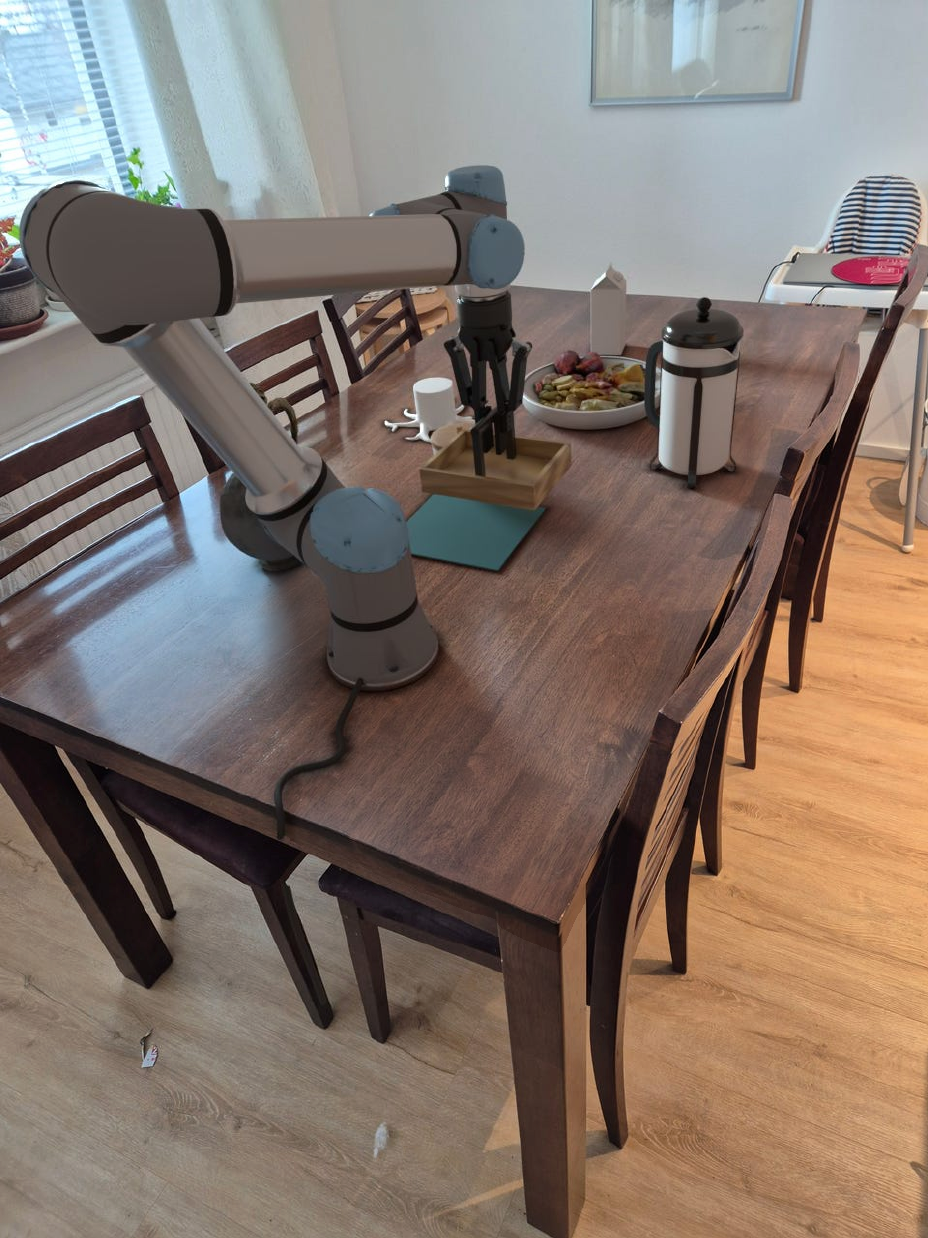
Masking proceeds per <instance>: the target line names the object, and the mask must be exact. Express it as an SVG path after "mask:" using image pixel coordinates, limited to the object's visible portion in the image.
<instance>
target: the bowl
mask: <svg viewBox="0 0 928 1238" xmlns="http://www.w3.org/2000/svg"><path fill="white" fill-rule="evenodd" d="M645 365H646V361H644V360H640V359H636V358H633V357H632V358H631V357H625V356H618V355H598V353H595V352H591V351H589V352H587V353H585V355H583V356H580V355H579V354H578V353H577V352H576V351H574V350H570V349H568V350H564V351H562V352H560V353H559V354H557V356H556V357H555V360H554V362H550V363H548V364H547V363H546V364H545V365H542V366H540V367H538V368H536V369H534V370H532V371H531V372H529V373H528V374H527V375H525V383H524V393H523V402H522V405H523V406H524V408H525V409H526V410H527V412H528V413H529V414H531V415H532V416H533V417H535V418H536V419H538V420H539V421H541V422H544V423H546V424H547V425H548V424H549V425H551V426H555V427H559V428H563V429H570V430H589V431H590V430H604V429H611V428H618V427H622V426H626V425H629V424H632V423H635V422H637V421H641V420H642V419H644V418H646V417H647V414H646V411H645V404H644V389H645ZM660 377H661V368H660V367H658V366H656V382H655V409H656V410H657V409H659V399H660ZM661 385H662V378H661ZM660 405H661V400H660Z"/></svg>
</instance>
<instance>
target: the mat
mask: <svg viewBox="0 0 928 1238" xmlns="http://www.w3.org/2000/svg"><path fill="white" fill-rule="evenodd" d="M546 508H547V507H543V506H538V507H537V508H536V509H535V511H534V510H528V509H521V508H515V507H509V506H503V505H497V504H491V503H485V502H479V501H473V500H467V499H461V498H455V497H448V496H442V495H436V494H432V495H431V496H430V498H429V499H428V500H427V501H426V502H425V503H423V504H422V505H421V507H420V508H418V510H417V511H416V512H415V513H414V514H412V516H410V518H409V519H408V520H407V521H406V523H407V526H408V529H409V536H410V541H409V543H410V550H411V556H415V557H420V558H426V559H430V560H436V561H441V562H447V563H451V564H457V565H462V566H467V567H471V568H477V569H483V570H488V571H494V572H499V571H500V569H501V568H502V567H503V565H504V564H505V563H506V562H507V561H508V559H509V557H510V556H511V555H512V554H513V553H514V551H515V549H517V548H518V547H519V544H520V543H521V542H522V541H523V540H524V538H525V537H526V536H527V534H528V533H529V532H530V530H531V529H532V528H533V526H534V525H535V524H536V523H537V521H538V520H539V519H540V517H541V516H542V514H544V512H545V511H546V510H547V509H546Z"/></svg>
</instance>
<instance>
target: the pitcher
mask: <svg viewBox="0 0 928 1238" xmlns="http://www.w3.org/2000/svg"><path fill="white" fill-rule="evenodd" d="M249 383H250V385H251V386H252V387H253V389H254V390H255V391H256V392H257V394H258V395H259V396H260V398H261V399H262V400H263V401H264V403H265V404H266V405H267V407H268V408H269V409H270V410H271V412H272V413H273V414H274V412H275V411H276V410H278V409H280V408H281V409H283V410H284V412H285V413H286V415H287V417H288V420H289V432H290V436H291V438H292V439H293V440H294V441H295V443H296V444H297V445H298V442H299V441H298V434H299V426H298V420H297V419H298V418H297V416H296V411H295V410H294V408H293V406H292V405H291V403H289V401H288V400H287V399H286V398H285V397H282V396H281V397H280V396H279V397H275V398H273V399H272V400H269V401H268V397H267V396H266V395H265V391H264V390H263V389H260V388H261V387H262V386H263V385H262V384H261V383H258V384H255V382H254V383H253V382H249ZM246 490H247V488H246V486H245V485H244V484H243V483H242V482H241V481H240V480H239V479H238V477H237V476H236V475H235V474H234V473H233V472H232V473H231V474H230V476H229V477H228V479H227V481H226V482H225V484H224V486H223V487H222V490H221V492H220V496H219V518H220V524H221V528H222V530H223V533H224V535H225V537H226V538H227V540H228V541H229V542H230V544H232V545H233V546H234V548H236V549H237V550H238V551H239V552H241V553H243V554H244V555H246V556H248V557H250V558H253V559H256V560H258V563H259V565H260V567H261V568H262V569H263V570H266V571H269V572H281V571H286V570H289V569H292V568H294V567H296V566H297V565H298V564H299V563H302V562H301V561H300V560H299V559H297V558H296V557H295V556H294V555H293V554H291V553H290V552H289V551H288V550H287V549H285V548H284V547H283V546H281V545H279V544H278V543H277V542H275V541H274V540H273V539H272V538H271V537H270V536H269V535H268V534H267V533H266V531H265V530H264V528H263V526H262V525H261V523H260V521H259V519H258V517H257V516H256V515H255V514H254V513H253V512H252V511H251V510H250V509H249V507H248V506H247V504H246V498H245V496H246Z"/></svg>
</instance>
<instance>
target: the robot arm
mask: <svg viewBox="0 0 928 1238" xmlns="http://www.w3.org/2000/svg"><path fill="white" fill-rule="evenodd" d="M504 179H505V178H504V175H503V173H502V170H501V169H499V168H498V167H496V166H493V165H487V164H485V165H484V164H483V165H482V164H479V165H467V166H462V167H457V168H454V169H453V170H450V171H448V172H447V173H446V175H445V186H444V190H445V191H443V192H440V193H437V194H433V195H430V196H425V197H422V198H417V199H412V200H409V201H404V202H400V203H391V204H390V205H387V206H385V207H382V208H379V209H376V210H374V211H372V212H371V213H370V215H357V216H356V215H355V216H321V217H320V216H319V217H318V216H317V217H316V216H315V217H286V218H254V219H253V218H249V219H247V218H246V219H245V218H244V219H224V218H223V217H222V216H221V215H220V214H219V213H218V212H217V211H215V210H214V209H212V208H185V207H175V206H168V205H162V204H158V203H157V204H156V203H153V202H149V201H145V200H142V199H138V198H135V197H132V196H129V195H127V194H123V193H119V192H115V191H113V190H109V189H107V188H106V187H104V186H103V185H100V184H97V183H94V182H91V181H87V180H81V179H72V180H67V181H66V180H65V181H60V182H55V183H52V184H49V185H47V186H45V187H44V188H42V189H40V190H39V191H38V192H37V193H35V195H33V196H32V197H31V199H30V200H29V201H28V203H27V205H26V206H25V208H24V209H23V212H22V215H21V218H20V221H19V222H20V223H19V228H18V229H19V230H18V234H19V235H18V236H19V237H18V238H19V246H20V249H21V253H22V256H23V259H24V261H25V263H26V265H27V267H28V269H29V271H30V272H31V275H33V277H34V278H35V279H36V280H37V281H38V283H39V284H40V285H42V286H43V287H44V288H45V289H47V290H49V291H50V292H51V293H54V294H55V295H56V296H57V297H58V298H59V299H60V300H61V302H63V304H64V305H65V306H66V307H67V308H68V309H69V310H70V311H71V312H72V313H73V314H74V316H76V318H77V319H78V320H79V321H80V322H81V323H82V324H83V325H84V327H85V328H86V329H87V330H88V331H89V332H90V333H91V334H92V335H93V337H95V339H96V340H97V341H98V342H99V343H100V345H103V346H106V347H116V348H122V349H124V350H125V351H126V353H127V354H128V355H129V356H130V357H131V358H132V360H133V361H134V362H135V363H136V364H137V365H138V366H139V368H140V369H141V370H142V371H143V372H144V373H145V374H146V375H147V376H148V377H149V379H150V380H152V382H153V383H154V384H155V386H157V388H158V390H160V392H162V394H163V395H164V396H165V397H166V398H167V399H168V401H169V402H170V403H171V404H172V405H173V406H174V407H175V408H176V409H177V411H178V412H179V413H180V414H181V415H182V416H183V417H184V419H185V420H186V421H187V422H188V423H189V424H190V425H191V427H192V428H193V429H194V430H195V431H196V432H197V433H198V435H200V436H201V437H202V439H203V440H204V441H205V442H206V444H207V445H208V446H209V447H210V448H211V450H213V451H214V453H215V454H216V455H217V456H218V457H219V458H220V460H221V461H223V463H224V464H225V465H226V466H227V468H228V469H229V470H230V471H231V472H232V473H234V474H235V475H236V476H237V477H238V479H239V480H240V481H241V482H242V483H243V484H244V485H245V486H246V488H247V490H246V496H245V498H246V504H247V506H248V507H249V509H250V510H251V511H252V512H253V513H254V514H255V515H256V516H257V517H258V519H259V521H260V523H261V525H262V526H263V528H264V530H265V531H266V533H267V534H268V535H269V536H270V537H271V538H272V539H273V540H274V541H275V542H277V543H278V544H279V545H281V546H283V547H284V548H285V549H287V550H288V551H289V552H290V553H291V554H293V555H294V556H295V557H296V558H297V559H299V560H300V561H301V562H300V563H302V564H303V565H304V566H305V567H306V568H308V569H309V570H310V571H311V572H312V573H314V574H315V575H316V576H317V577H318V578H319V579H320V580H321V582H322V584H323V586H324V591H325V595H326V600H327V602H328V608H329V611H330V616H331V620H330V626H329V632H328V637H327V638H328V639H327V645H326V659H327V664H328V668H329V671H330V673H331V675H332V676H333V678H335V680H336V681H337V682H338V683H340V684H342V685H343V686H345V687H348V688H349V689H352V690H351V692H350V694H349V696H348V699H347V701H346V703H345V705H344V707H343V709H342V711H341V713H340V715H339V717H338V719H337V722H336V725H335V737H336V740H337V744H338V749H337V751H336V752H335V753H334V754H333V755H332V756H330V757H328V758H325V759H323V760H318V761H312V762H308V763H304V764H299V765H297V766H294V767H292V768H290V769H289V770H287V771H286V772H285V773H284V774H283V775H282V776H281V778H279V780H278V782H277V783H276V785H275V787H274V791H273V800H274V807H275V813H276V839H277V840H279V841H282V840H283V839H284V838H285V836H286V818H285V817H286V816H285V810H284V809H285V808H284V803H283V790H284V787H285V786H286V784H287V783H288V782H289V780H291V779H292V778H293V777H295V776H296V775H299V774H302V773H305V772H310V771H315V770H320V769H324V768H328V767H330V766H332V765H335V764H336V763H337V762H339V761H340V760H341V759H342V758H343V757H344V755H345V753H346V750H347V744H346V739H345V737H344V733H343V731H344V727H345V723H346V721H347V718H348V716H349V714H350V712H351V710H352V708H353V706H354V704H355V702H356V700H357V698H358V695H359V694H360V691H362V692H363V691H364V692H385V691H391V690H395V689H399V688H402V687H405V686H407V685H410V684H412V683H414V682H415V681H417V680H419V679H420V678H422V677H423V676H424V675H426V674H427V673H428V672H429V671H430V670H431V669H432V668H433V666H434V665H435V663H436V661H437V659H438V656H439V650H440V649H439V641H438V636H437V633H436V631H435V630H436V629H435V628H434V626H433V625H432V623H431V621H430V620H429V619H428V618H427V616H426V614H425V612H424V610H423V608H422V606H421V604H420V602H419V598H418V591H417V584H416V577H415V570H414V564H413V558H412V557H413V556H412V555H411V550H410V543H409V541H410V536H409V529H408V526H407V523H406V522H407V521H406V518H405V517H406V516H405V513H404V510H403V508H402V507H401V505H400V503H399V502H398V500H396V499H395V498H394V497H393V496H391V495H390V494H389V493H387V492H385V491H382V490H380V489H377V488H373V487H370V488H367V489H365V488H364V487H363V486H349V487H346V486H345V485H344V484H343V483H342V482H341V481H340V480H339V478H338V477H337V476H336V475H335V473H334V472H333V471H332V469H331V468H330V467H329V465H328V464H327V463H326V461H325V460H324V459H323V458H322V456H321V455H320V453H319V452H318V451H317V450H315V448H311V447H309V446H299V445H298V443H297V444H296V443H295V441H294V440H293V439H292V438H291V434H289V432H288V431H287V429H286V428H285V427H284V426H283V424H282V422H280V420H279V419H278V418H277V416H276V415H275V414H274V412H273V413H272V412H271V410H270V409H269V408H268V407H267V405H266V404H265V403H264V401H263V400H262V399H261V398H260V396H259V395H258V394H257V392H256V391H255V390H254V389H253V387H252V386H251V385H250V383H251V382H249V381H248V379H247V378H246V377H245V376H244V374H243V373H242V372H241V370H240V369H239V368H238V366H237V365H236V364H235V362H234V361H233V360H232V359H231V358H230V356H229V355H228V353H226V351H225V350H224V348H222V346H221V344H220V343H219V342H218V341H217V340H216V338H215V337H214V336H213V335H212V333H211V332H210V330H209V329H208V328H207V326H206V325H205V324H204V323H203V322H202V320H201V319H204V318H205V319H206V318H216V317H224V316H228V315H229V314H230V313H232V311H233V310H234V308H235V307H236V305H237V304H246V303H259V302H269V301H271V302H272V301H280V300H293V299H304V298H305V299H306V298H316V297H328V296H329V297H330V296H339V295H352V294H362V293H375V292H384V291H386V292H387V291H397V290H409V289H410V290H411V289H420V288H421V289H422V288H432V287H449V286H451V287H452V286H454V288H455V293H456V294H457V295H458V297H456V307H457V317H458V318H457V319H458V324H459V328H458V331H457V335H452V336H451V337H450V338H448V339H447V340H446V341H444V342H443V348H444V349H445V351H446V353H447V355H448V357H449V359H450V362H451V363H450V364H451V366H452V370H453V376H454V379H455V383H456V387H457V392H458V395H459V400H460V404H461V406H462V405H463V406H464V407H469V408H471V409H472V411H473V415H474V417H473V418H474V420H475V425H476V424H477V423H478V422H479V421H480V420H481V419H482V418H483V417H484V416H485V415H486V414H487V413H489V412H490V411H491V410H492V409H493V407H492V405H487V404H488V403H489V399H487V363H488V366H489V367H488V368H489V369H490V370H491V376H492V383H493V389H494V396H495V397H494V398H495V403H496V405H497V411H496V412H495V413H494V414H493V419H494V423H493V424H492V425H491V426H490V427H489V428H487V429H486V430H485V431H484V432H483V433H482V438H483V449H484V453H488V452H489V451H490V450H491V449H492V448H493V447H494V436H493V433H494V434H495V448H496V455H501V454H502V453H503V452H504V451H505V450H506V449H507V448H508V442H507V433H508V432H509V431H510V430H511V427H512V425H511V411H512V412H513V411H514V412H515V411H516V410H517V409H519V408H520V406H522V405H523V393H524V383H525V377H526V372H527V363H528V357H529V355H530V354H531V351H532V349H533V344H532V343H531V341H525V342H524V341H522V339H519V338H518V337H517V334H516V331H515V330H514V328H513V307H512V305H513V304H512V294H511V293H510V291H509V290H510V288H511V284H512V283H513V282H514V281H515V280H516V279H517V277H518V275H520V272H521V270H522V267H523V264H524V261H525V250H526V246H525V240H524V237H523V234H522V232H521V230H520V229H519V226H518V225H516V223H513V222H512V221H511V220H510V219H508V210H507V208H508V207H507V206H508V201H507V196H506V195H507V194H506V185H505V180H504ZM464 347H465V349H466V351H467V352H468V354H469V363H468V358H467V354H466V351H465V349H464ZM510 348H511V349H512V351H511V356H512V357H513V360H512V364H511V374H510V382H509V376H508V368H507V362H508V357H507V354H508V352H509V350H510ZM469 366H470V367H471V372H470V368H469ZM281 888H282V894H283V897H284V902H285V906H286V910H287V914H288V918H289V921H290V925H291V928H292V932H293V933H294V937H295V940H296V943H297V945H298V948H299V951H300V954H301V955H302V956H301V957H302V959H303V961H304V963H305V965H306V968H307V971H308V974H309V976H310V978H311V981H312V985H313V986H314V990H315V993H316V995H317V998H318V1002H319V1004H320V1005H321V1006H325V1005H326V1004H327V1003H328V1002H327V1001H328V999H327V998H326V994H325V992H324V989H323V985H322V982H321V979H320V976H319V974H318V971H317V969H316V966H315V963H314V961H313V959H312V956H311V953H310V951H309V947H308V945H307V942H306V940H305V937H304V935H303V932H302V928H301V924H300V921H299V918H298V915H297V911H296V906H295V903H294V898H293V893H292V889H291V885H288V884H286V883H282V882H281Z"/></svg>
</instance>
